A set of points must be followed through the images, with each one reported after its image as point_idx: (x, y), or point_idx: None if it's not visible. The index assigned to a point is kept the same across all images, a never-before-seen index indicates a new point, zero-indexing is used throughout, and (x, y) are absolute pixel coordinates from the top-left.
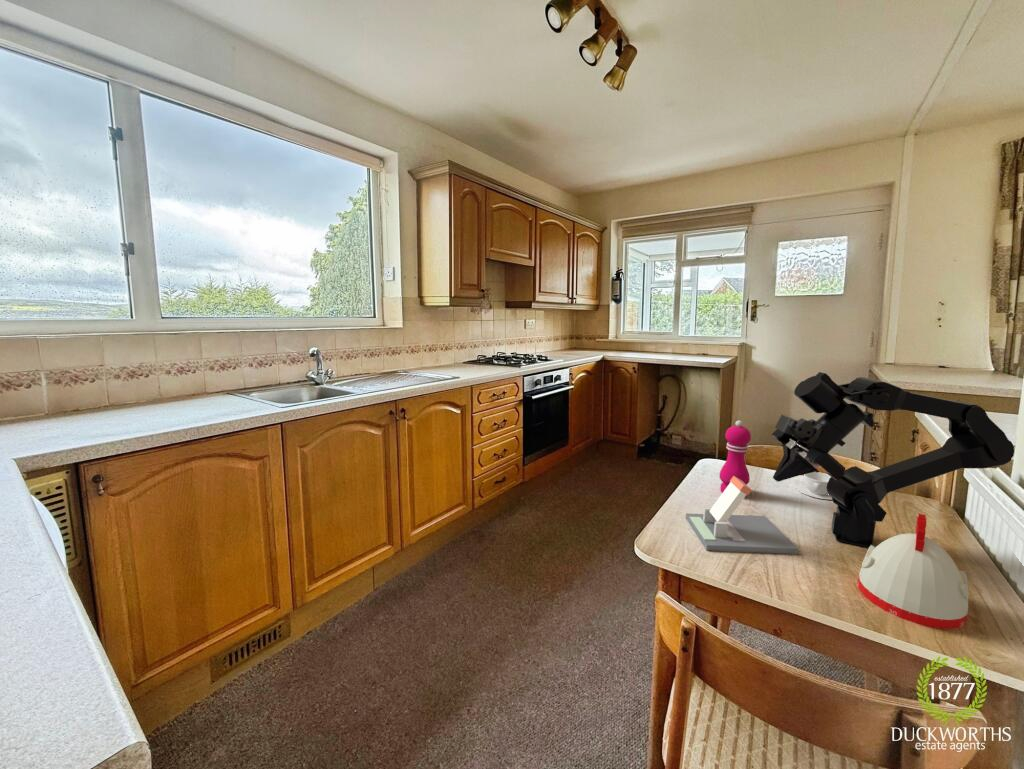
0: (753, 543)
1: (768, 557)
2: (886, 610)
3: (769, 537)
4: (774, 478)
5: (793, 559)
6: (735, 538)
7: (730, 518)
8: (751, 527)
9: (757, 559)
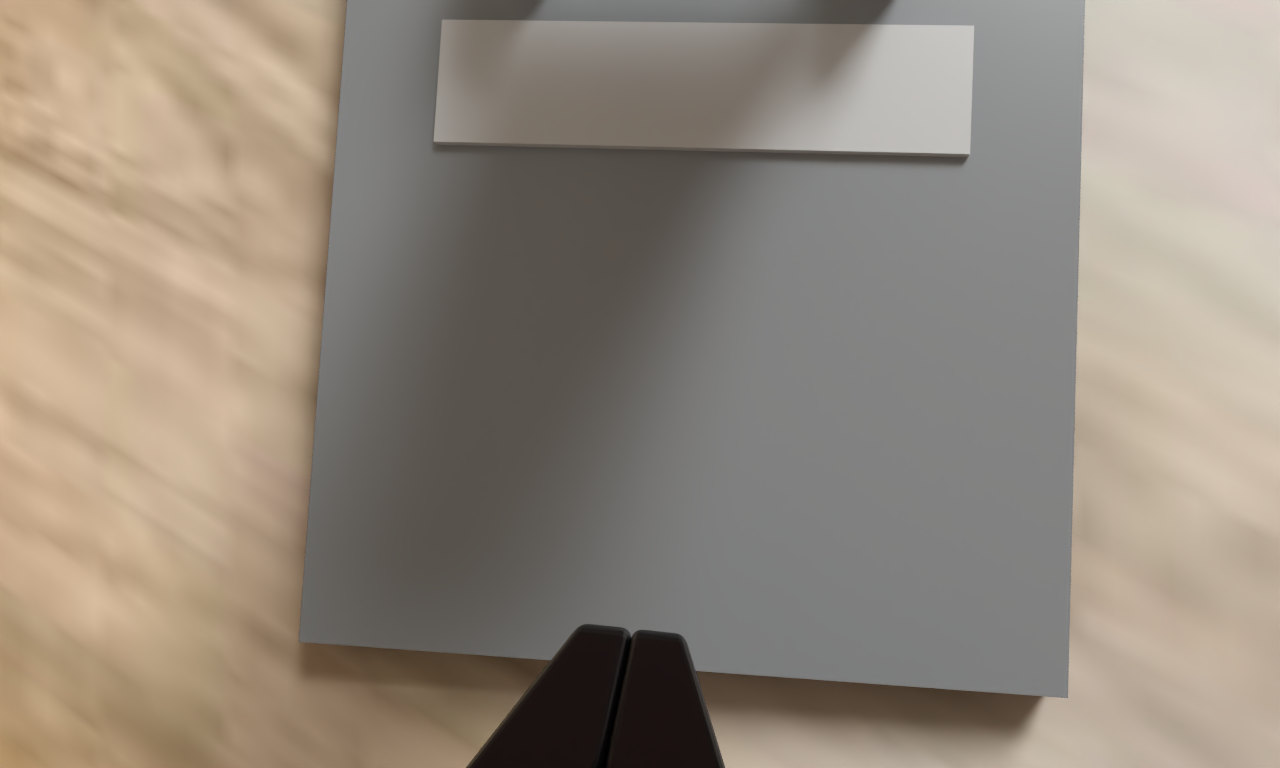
0: (399, 215)
1: (269, 305)
2: None
3: (522, 455)
4: (587, 627)
5: (234, 529)
6: (479, 59)
7: (974, 214)
8: (749, 365)
9: (238, 183)
